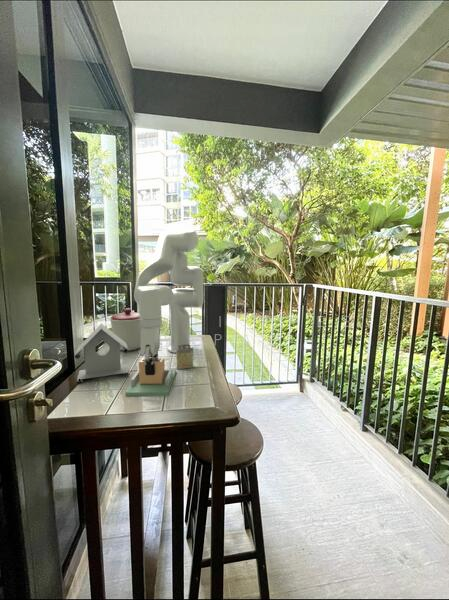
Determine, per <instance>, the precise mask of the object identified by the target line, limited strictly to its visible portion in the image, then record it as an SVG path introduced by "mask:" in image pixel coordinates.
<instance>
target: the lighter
mask: <svg viewBox="0 0 449 600" xmlns="http://www.w3.org/2000/svg"><path fill="white" fill-rule="evenodd" d="M190 345H191V344H190ZM190 345H189V344H183V345H178V349H177V352H176V353H175V354H176V370H177V369H179V370H186V369H191V368H193V367H194V351H193V350H194V349H193V348H190ZM186 346H188V348H185V347H186ZM181 347H184V348H181Z"/></svg>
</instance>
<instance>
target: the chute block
mask: <svg viewBox="0 0 449 600" xmlns="http://www.w3.org/2000/svg"><path fill="white" fill-rule="evenodd" d="M149 358H150V359H151V360H152V357H149ZM154 364H155V374H154V375H145V356H142V358H141V359H140V360H139V361H138V370H139V384H162V383H163V381H164V379H165V369H166V367H165V357H161V356H160V357H159V356H158V357H154Z"/></svg>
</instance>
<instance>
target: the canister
mask: <svg viewBox="0 0 449 600" xmlns="http://www.w3.org/2000/svg"><path fill="white" fill-rule="evenodd" d="M123 311H124V312H120V313H116V314H112V316H110V317H108V320H109V321H110V325H111V331H112V332H113V333H114V334H115V335H117V336H118V337H119V338H120V339H122V340H123V341H124V342H126V344H127V347H128V352H130V351H135V350H137V349H141V330H142V328H140V315H139V312H135V311H132V309H131V308H129V307H127V308H125V309H124V310H123ZM120 351H122V352H123V347H122V345H121V344H120Z"/></svg>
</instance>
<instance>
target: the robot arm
mask: <svg viewBox="0 0 449 600" xmlns="http://www.w3.org/2000/svg"><path fill="white" fill-rule="evenodd" d="M198 244H199V234H198V232H197V231H196V230H194V229H167V230H164V231H162V232H161V233H160V234H159V236H158V239H157V244H156V247H155V251H154V257H153V260H152V262H150V263H149V264H148V265H147V266H145V268H144V269H143V270H141V271H140V273H139V275H138V276H137V278H136V281H135V286H134V291H133V298H134V302H136V304H138V308H139V312H138V313H139V315H140V328H142V330H141V347H140V356H141V357H145V375H154V374H155V364H154V357H159V350H160V348H161V346H160V345H161V343H160V342H161V341H160V340H161V339H160V338H161V336H160V328H162V326H163V325H162V321H163V320H162V306H163V307H164V306H168V305H169V311H170V313H169V314H170V345H169V346H168V347H167V351H168V352H169V353H173V354H177V353H176V352H177V349H178V345H183V344H189V345H190V348H193V347H194V346H193V345H192V344H191V343H190V341H191V340H190V339H191V338H190V337H191V336H190V335H191V334H190V329H191V328H190V326H191V325H190V324H191V323H190V314H189V312H188V310H187V309H186V308H196V309H198V308H202V306H203V304H204V274H203V273H204V272H203V270H202V268H200V267H199V266H189V265H188V255H187V253H190V252H193V250H195V249H196V248H197V247H198ZM169 272H170V274H169V275H170V281H171V284H172V285H174V286H178V287H177V288H173V289H172V288H171V287H170V286H169V285H155V284H154V285H152V284H151V285H150V284H149V283H150V282H151V281H152V280H153V279H155V278H156V277H159V276H161V275H165V274H166V273H169ZM180 286H181V287H180ZM183 286H186V288H185V287H183ZM187 286H188V287H192V288H187ZM182 287H183V288H182ZM181 348H184V347H181ZM185 348H188V346H186V347H185ZM149 357H152V360H151V359H150V358H149Z"/></svg>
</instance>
